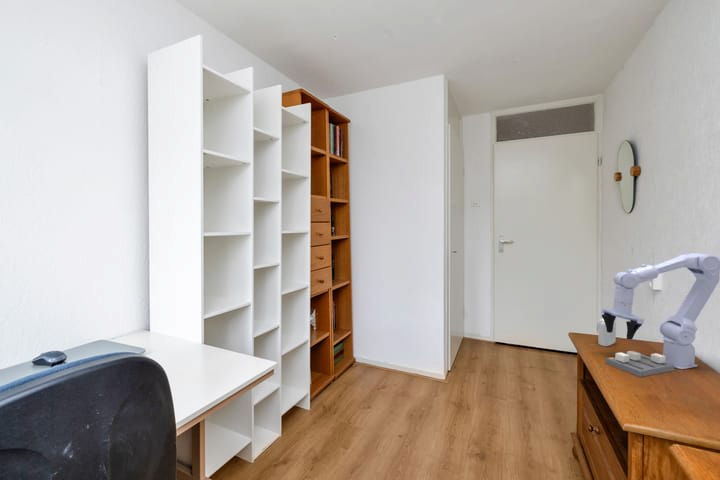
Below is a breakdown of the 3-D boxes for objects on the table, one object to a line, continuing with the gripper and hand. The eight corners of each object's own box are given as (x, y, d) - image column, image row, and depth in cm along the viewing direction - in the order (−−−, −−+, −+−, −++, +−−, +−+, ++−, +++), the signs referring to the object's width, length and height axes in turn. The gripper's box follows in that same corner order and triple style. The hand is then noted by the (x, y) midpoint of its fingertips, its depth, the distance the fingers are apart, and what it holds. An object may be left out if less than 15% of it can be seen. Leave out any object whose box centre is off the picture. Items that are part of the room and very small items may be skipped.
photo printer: (605, 340, 152) (606, 314, 151) (616, 342, 148) (617, 316, 148) (596, 344, 146) (597, 317, 146) (607, 347, 143) (608, 320, 142)
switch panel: (641, 357, 132) (642, 351, 132) (677, 369, 120) (678, 363, 120) (605, 363, 126) (605, 357, 126) (639, 377, 115) (640, 370, 114)
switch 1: (621, 358, 125) (621, 352, 125) (629, 361, 122) (629, 355, 122) (615, 359, 124) (615, 353, 124) (623, 362, 121) (623, 356, 121)
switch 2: (656, 359, 124) (656, 353, 124) (665, 362, 121) (665, 356, 121) (650, 360, 123) (650, 354, 123) (659, 363, 120) (660, 357, 120)
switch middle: (632, 356, 127) (632, 350, 126) (640, 359, 124) (640, 353, 124) (626, 357, 126) (626, 351, 126) (635, 360, 123) (635, 354, 123)
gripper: (597, 297, 134) (594, 329, 135) (636, 307, 120) (631, 342, 121) (610, 297, 136) (606, 329, 137) (649, 307, 122) (644, 342, 123)
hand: (619, 335), depth 129 cm, fingers open, 7 cm apart
